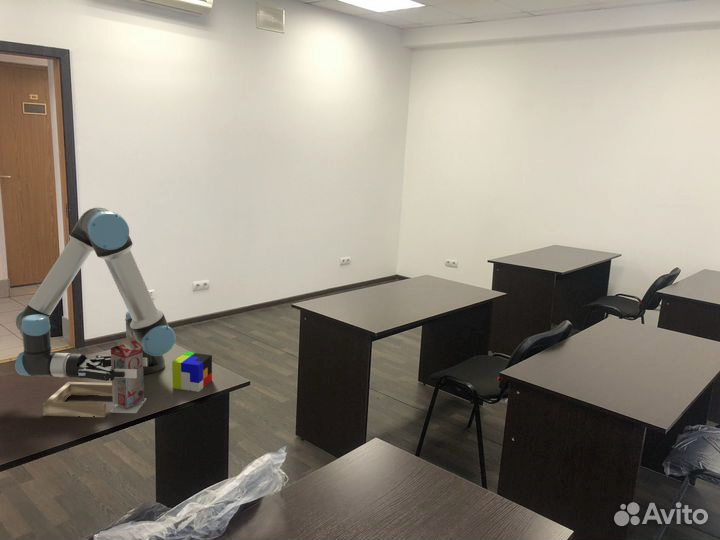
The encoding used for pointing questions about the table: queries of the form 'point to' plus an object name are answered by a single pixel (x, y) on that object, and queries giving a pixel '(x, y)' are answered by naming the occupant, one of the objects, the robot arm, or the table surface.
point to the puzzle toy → (192, 371)
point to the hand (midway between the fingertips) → (141, 367)
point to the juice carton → (127, 357)
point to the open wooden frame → (82, 409)
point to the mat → (127, 410)
